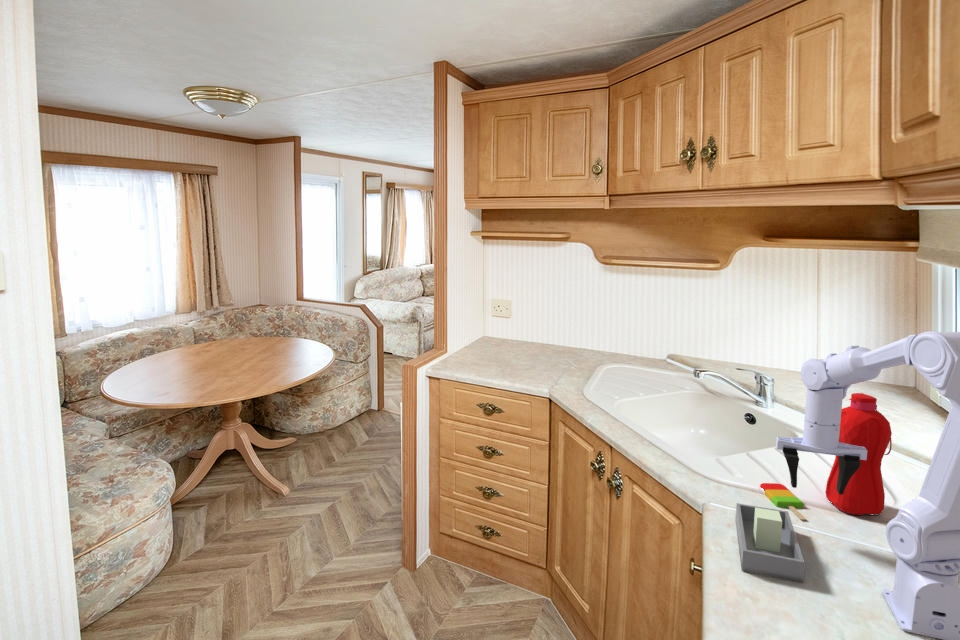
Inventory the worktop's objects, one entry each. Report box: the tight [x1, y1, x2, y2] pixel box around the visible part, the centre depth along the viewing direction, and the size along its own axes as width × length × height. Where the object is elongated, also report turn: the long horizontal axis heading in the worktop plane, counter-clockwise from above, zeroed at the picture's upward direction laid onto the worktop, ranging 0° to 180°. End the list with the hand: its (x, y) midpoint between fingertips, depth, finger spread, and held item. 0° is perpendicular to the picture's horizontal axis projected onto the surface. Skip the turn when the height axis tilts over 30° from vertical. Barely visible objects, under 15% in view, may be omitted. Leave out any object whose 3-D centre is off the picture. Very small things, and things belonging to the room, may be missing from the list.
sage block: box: [753, 508, 782, 552], centre depth 98 cm, size 4×4×6 cm
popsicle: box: [759, 482, 807, 521], centre depth 115 cm, size 6×15×2 cm, turn 175°
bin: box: [735, 503, 805, 584], centre depth 98 cm, size 18×9×4 cm, turn 157°
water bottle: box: [824, 392, 893, 516], centre depth 112 cm, size 9×11×25 cm
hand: (816, 488), depth 102 cm, fingers open, 7 cm apart
